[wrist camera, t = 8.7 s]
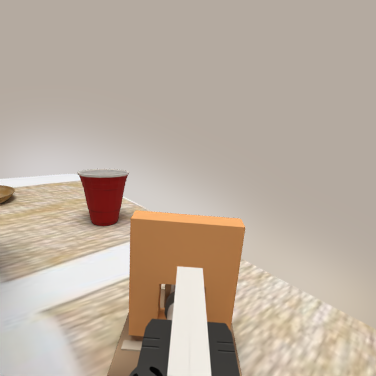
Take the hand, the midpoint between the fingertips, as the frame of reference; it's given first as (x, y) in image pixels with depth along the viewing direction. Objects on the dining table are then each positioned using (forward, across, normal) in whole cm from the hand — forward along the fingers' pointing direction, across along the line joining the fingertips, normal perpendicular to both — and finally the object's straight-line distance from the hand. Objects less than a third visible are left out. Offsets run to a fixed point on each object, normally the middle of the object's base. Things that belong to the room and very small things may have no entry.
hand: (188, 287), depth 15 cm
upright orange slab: (+8, 0, -11) cm, 14 cm away
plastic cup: (+41, -19, -14) cm, 47 cm away
